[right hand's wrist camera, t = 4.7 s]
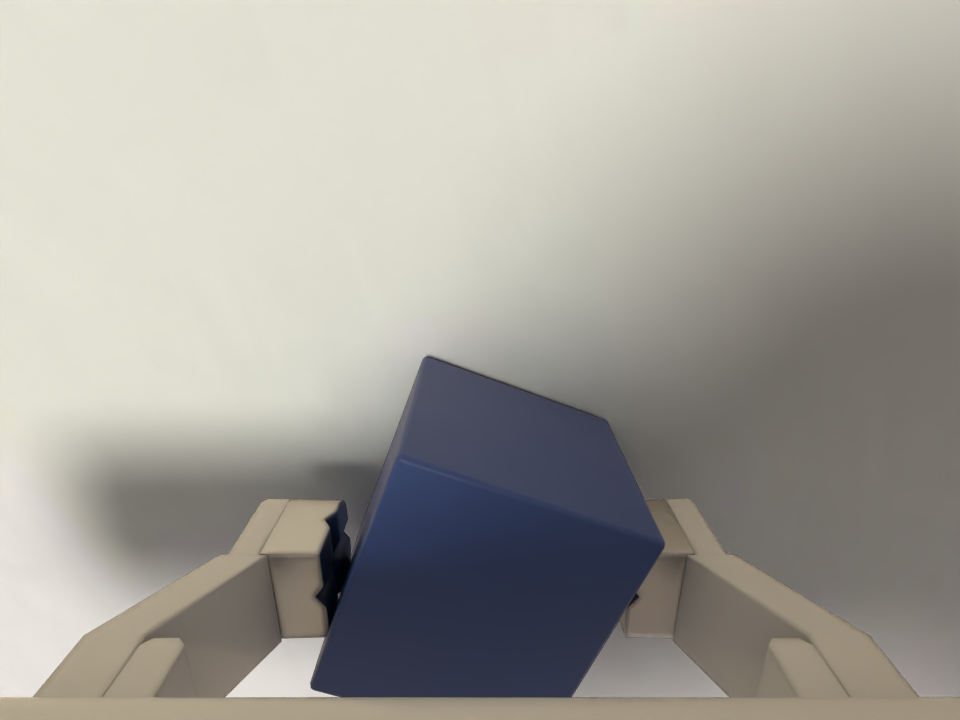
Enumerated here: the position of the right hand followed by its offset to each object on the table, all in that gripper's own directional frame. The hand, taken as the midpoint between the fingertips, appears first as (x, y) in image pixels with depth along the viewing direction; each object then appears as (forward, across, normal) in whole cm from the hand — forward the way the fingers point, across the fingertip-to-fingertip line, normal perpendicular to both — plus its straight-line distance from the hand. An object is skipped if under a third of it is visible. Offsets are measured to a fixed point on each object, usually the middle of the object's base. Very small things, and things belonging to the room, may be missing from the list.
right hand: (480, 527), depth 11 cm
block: (+2, 0, 0) cm, 2 cm away
